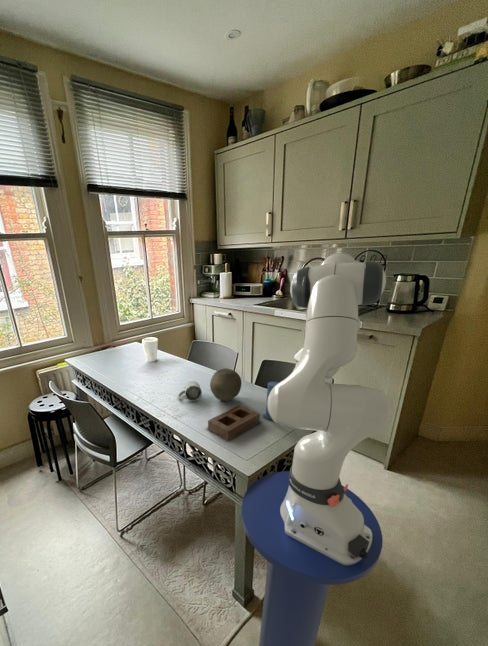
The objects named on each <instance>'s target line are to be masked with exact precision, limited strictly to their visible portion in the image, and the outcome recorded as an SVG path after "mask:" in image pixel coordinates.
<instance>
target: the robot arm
mask: <svg viewBox="0 0 488 646" xmlns="http://www.w3.org/2000/svg"><path fill="white" fill-rule="evenodd" d="M386 285H387V275H386V272H385V270H384V266H383V265H382V264H381V263H379V262H378V261H372V260H364V261H363V262H361V261H360V262H359V261H356V259H355V258H354V257H353V256H352V255H351V254H349V253H345V252H336V253H333V254H330V255H329V256H327V257H326V258H325V259H324V260H323V261H322V263H321V264H319V265H315V266H311V267H310V266H306V267H303V268H300V269H298V270H296V271H295V273H294V274H293V276H292V280H291V281H290V286H289V292H290V297H291V299H292V303H293V304H294V305H296V307H299V308H303V309H306V313H305V328H304V337H303V338H304V339H303V345H302V346H303V347H302V348H301V349H299V351H298V352H297V353H296V354H294V356H293V360H294V361H295V362H296V363H295V367H294V368H293V370H292V372H291V373H290V374H289V375H288V376H287V377H286V378H284V379H283V380H281V381H280V382H278V384H277V385H275V386H274V388H273V389H272V390H271V392H270V394H269V396H268V400H267V399H266V401H267V408H268V412H269V414H270V416H271V418H272V419H273V420H272V421H273V422H274V423H275V424H278V425H281V426H284V427H289V428H292V429H295V430H296V429H297V430H307V431H315V432H312V433H309V434H307V435H304V436H303V437H301V438H300V439H299V440H298V442H297V443H296V444H295V446H294V450H293V457H292V464H291V466H290V469H289V471H290V473H289V480H288V481H289V487H288V491H287V494H286V497H285V499H284V501H283V502H282V504H281V507H280V513H281V517H282V519H283V521H284V523H285V533H286V534H287V535H288V536H290V537H292V538H294V539H296V540H298V541H300V542H302V543H303V544H305V545H307V546H309V547H311V548H313V549H315V550H316V551H318V552H320V553H322V554H324V555H326V556H328V557H330V558H331V559H333V560H335V561H337V562H339V563H341V564H343V565H352V564H355V563H357V562H359V561H360V560H361V559H362V558H367V556H368V554H367V552H368V551H369V549H370V547H371V544H372V532H371V530H370V529H369V528H368V527H367V526H366V525H364V518H363V515H362V513H361V512H360V511H359V509H358V508H357V507H356V506H355V505H354V504H353V503H352V501H351V499H350V498H348V497H347V496H346V495H345V494H344V493H345V491H346V490H347V489H349V488H348V487H349V484H345V486H344V488H343V487H342V486H343V485H342V481H341V477H340V475H341V472H342V468H343V465H344V462H345V459H346V457H347V456H348V454H349V453H350V451H352V450H353V448H355V447H356V446H357V445H358V444H360V443H361V442H363V441H364V440H366V439H368V438H370V437H372V436H375V435H377V434H380V433H382V432H383V431H384V430H385V429H386V428H387V427H388V425H389V424H390V422H391V420H392V416H393V408H392V403H391V401H390V399H389V397H388V396H387V395H386V393H384V392H383V390H380V389H375V388H372V387H368V386H363V385H360V384H348V383H347V384H345V383H331V382H330V383H329V382H326V379H327V380H329V379H332V378H333V377H334V376H335V375H336V374H337V372H338V371H339V370H340V369H341V367H344V366H346V365H348V364H349V363H350V362H352V361H353V360H354V359H355V357H356V355H357V349H358V333H359V331H360V329H361V327H362V321H361V319H360V318H359V306H361V305H362V306H363V307H364V306H368V305H373V304H375V303H377V302H378V301H379V300H380V299H381V297H382V295H383V293H384V291H385V288H386ZM294 533H296V534H294ZM351 557H352V558H351ZM353 558H354V559H353Z"/></svg>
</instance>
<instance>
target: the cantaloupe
mask: <svg viewBox="0 0 488 646" xmlns="http://www.w3.org/2000/svg"><path fill="white" fill-rule="evenodd" d="M209 387H210V388H209V389H210V391H211V393H212V395H213V396H214V397H215V398H216V399H217V400H219V401H222V402H228V401H232V400H233V399H235V398H236V397H237V396H238V395H239V394H240V392H241V389H242V378H241V376H240V375H239V373H238V372H237V371H235V370H234V369H231V368H228V367H227V368H226V367H225V368H224V367H223V368H221V369H218V370H216V371H215V372H214V374H213V375H212V377H211V379H210V383H209Z"/></svg>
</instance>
